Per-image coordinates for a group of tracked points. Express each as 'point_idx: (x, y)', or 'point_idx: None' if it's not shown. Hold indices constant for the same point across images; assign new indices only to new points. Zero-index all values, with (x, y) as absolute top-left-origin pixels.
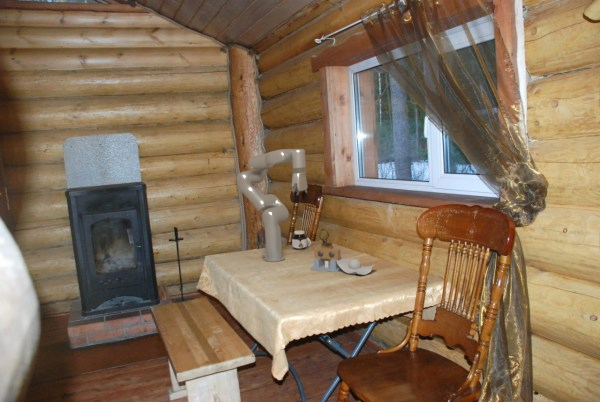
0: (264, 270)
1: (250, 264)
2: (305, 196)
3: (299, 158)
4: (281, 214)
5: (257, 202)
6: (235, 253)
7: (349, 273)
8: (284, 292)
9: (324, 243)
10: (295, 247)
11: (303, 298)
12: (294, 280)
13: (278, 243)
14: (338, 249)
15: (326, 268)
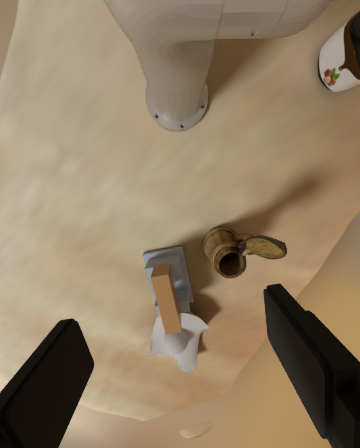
0: (79, 160)
1: (98, 71)
2: (291, 371)
3: None
4: (216, 22)
5: None
6: None
7: (153, 332)
8: (6, 300)
9: (236, 251)
10: (320, 60)
11: (8, 339)
12: (66, 271)
13: (171, 106)
14: (175, 330)
15: None
